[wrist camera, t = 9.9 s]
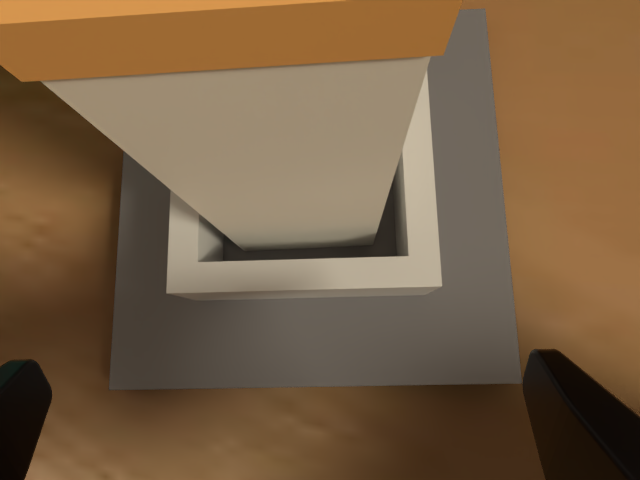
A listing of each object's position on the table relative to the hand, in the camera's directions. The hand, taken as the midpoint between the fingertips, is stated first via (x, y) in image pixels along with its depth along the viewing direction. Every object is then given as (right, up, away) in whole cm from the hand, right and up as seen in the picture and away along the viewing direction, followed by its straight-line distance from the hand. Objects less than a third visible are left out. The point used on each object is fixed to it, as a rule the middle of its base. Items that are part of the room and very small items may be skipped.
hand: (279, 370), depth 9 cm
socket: (0, +4, +10) cm, 11 cm away
